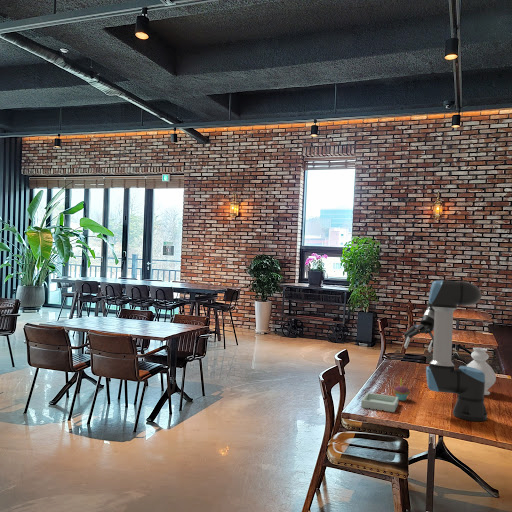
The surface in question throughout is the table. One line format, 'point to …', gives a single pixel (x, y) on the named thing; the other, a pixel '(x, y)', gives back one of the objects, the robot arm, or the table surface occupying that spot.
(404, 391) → the cupcake
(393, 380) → the table surface
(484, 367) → the decorative vase
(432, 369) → the robot arm
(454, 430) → the table surface
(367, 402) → the tray
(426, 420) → the table surface
